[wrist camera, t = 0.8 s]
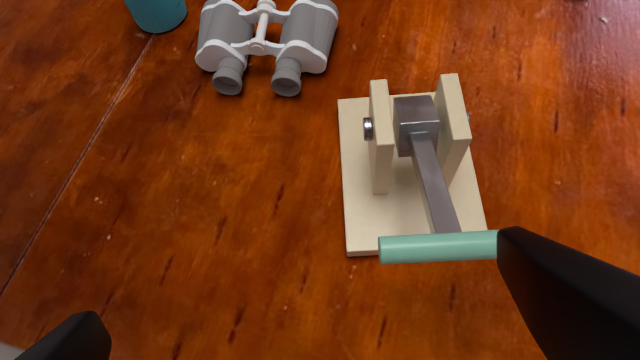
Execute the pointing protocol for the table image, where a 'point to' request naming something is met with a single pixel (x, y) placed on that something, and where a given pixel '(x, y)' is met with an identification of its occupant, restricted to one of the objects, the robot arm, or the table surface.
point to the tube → (157, 14)
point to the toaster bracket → (401, 167)
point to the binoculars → (236, 41)
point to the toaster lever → (430, 195)
